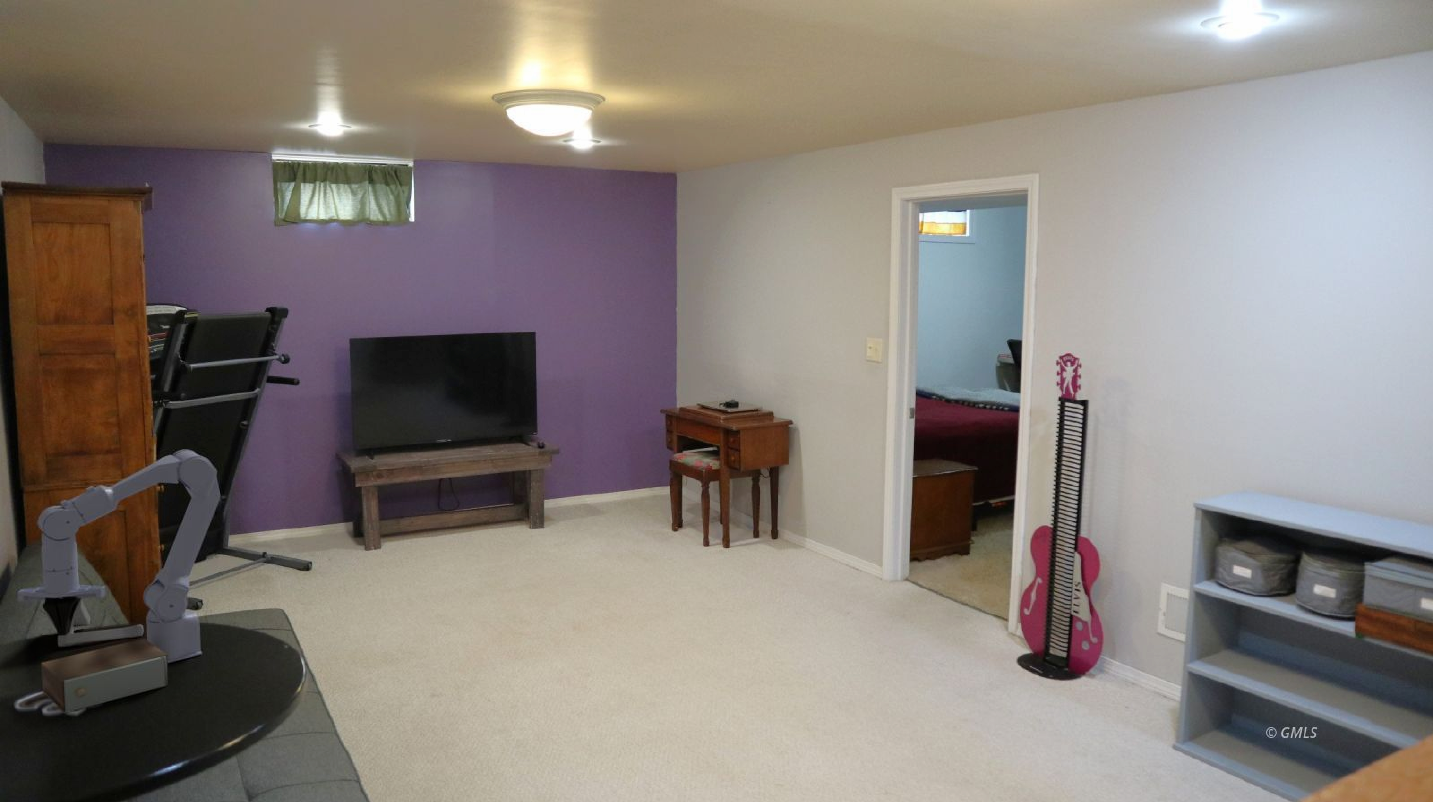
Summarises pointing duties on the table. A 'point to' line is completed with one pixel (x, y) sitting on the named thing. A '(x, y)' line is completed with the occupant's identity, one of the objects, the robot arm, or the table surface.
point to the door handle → (84, 619)
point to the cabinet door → (115, 683)
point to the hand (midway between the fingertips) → (64, 633)
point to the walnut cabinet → (93, 665)
